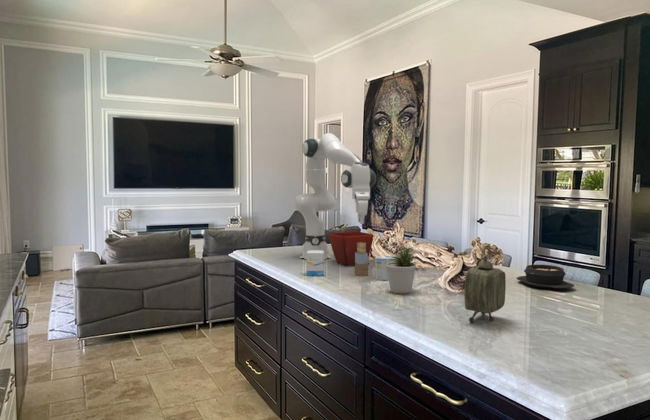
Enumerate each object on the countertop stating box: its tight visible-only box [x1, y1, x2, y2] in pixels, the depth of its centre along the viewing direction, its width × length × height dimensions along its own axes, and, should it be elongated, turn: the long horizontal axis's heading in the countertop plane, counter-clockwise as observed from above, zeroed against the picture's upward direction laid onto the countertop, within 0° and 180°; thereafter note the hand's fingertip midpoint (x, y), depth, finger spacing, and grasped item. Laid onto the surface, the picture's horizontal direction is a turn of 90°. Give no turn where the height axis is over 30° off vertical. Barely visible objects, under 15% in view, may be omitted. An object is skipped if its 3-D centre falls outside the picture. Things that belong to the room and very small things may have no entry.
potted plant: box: [386, 244, 419, 295], centre depth 203 cm, size 13×14×20 cm
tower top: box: [355, 252, 369, 265], centre depth 238 cm, size 5×5×5 cm
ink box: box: [306, 250, 325, 277], centre depth 239 cm, size 8×8×12 cm
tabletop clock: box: [463, 247, 507, 323], centre depth 162 cm, size 14×9×25 cm, turn 141°
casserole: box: [516, 264, 575, 290], centre depth 212 cm, size 25×19×8 cm
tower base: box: [354, 263, 369, 277], centre depth 238 cm, size 6×6×6 cm
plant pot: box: [328, 231, 374, 267], centre depth 268 cm, size 19×19×17 cm
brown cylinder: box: [357, 243, 366, 254], centre depth 237 cm, size 4×4×5 cm
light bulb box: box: [374, 255, 398, 281], centre depth 228 cm, size 11×7×11 cm, turn 84°
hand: (361, 223), depth 237 cm, fingers open, 8 cm apart
